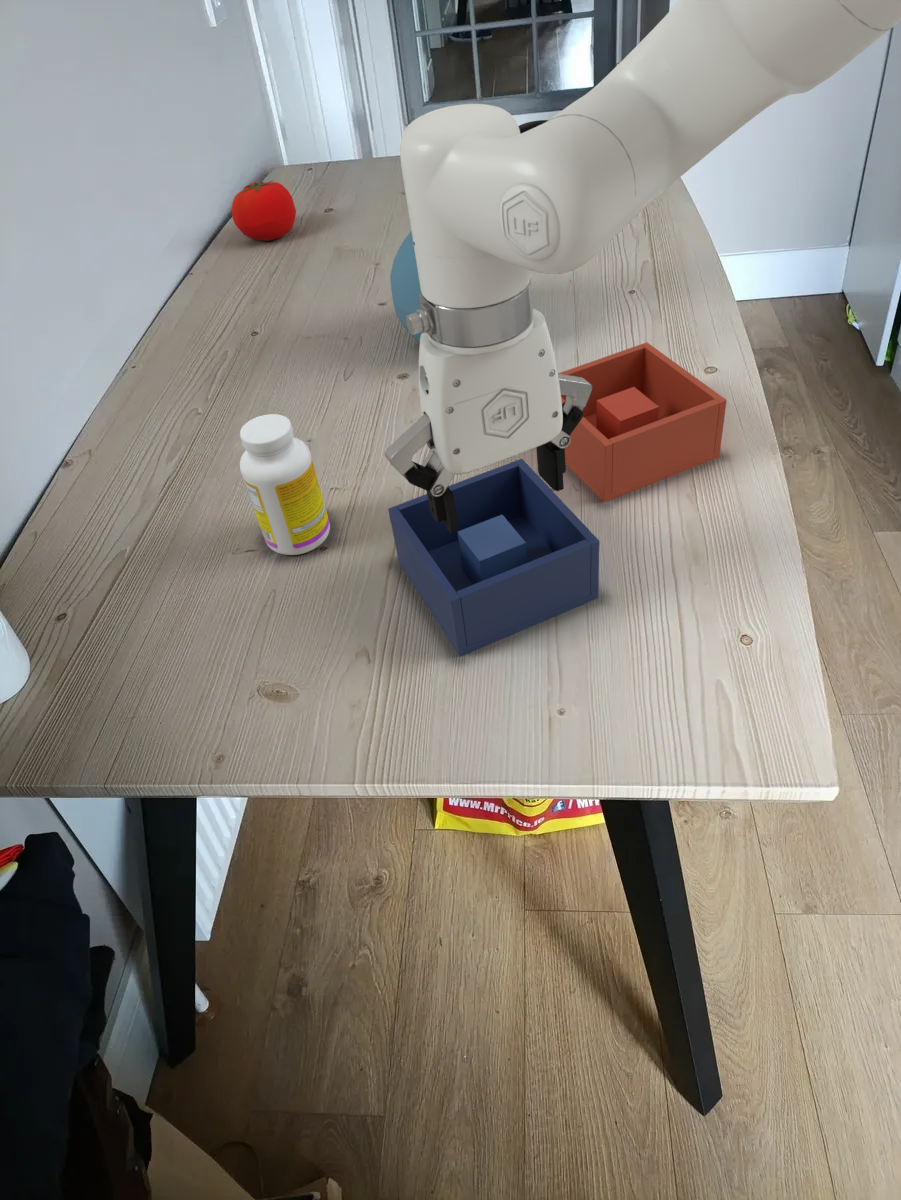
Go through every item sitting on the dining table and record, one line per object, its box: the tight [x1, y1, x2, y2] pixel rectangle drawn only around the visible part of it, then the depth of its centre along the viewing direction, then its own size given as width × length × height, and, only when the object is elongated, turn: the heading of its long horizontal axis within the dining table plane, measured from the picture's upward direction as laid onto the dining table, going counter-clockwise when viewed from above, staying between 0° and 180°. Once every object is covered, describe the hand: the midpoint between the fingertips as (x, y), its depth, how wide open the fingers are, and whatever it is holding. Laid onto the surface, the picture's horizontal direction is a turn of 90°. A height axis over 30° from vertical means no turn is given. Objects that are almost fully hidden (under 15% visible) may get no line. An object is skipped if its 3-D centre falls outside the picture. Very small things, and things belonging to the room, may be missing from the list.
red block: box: [596, 387, 659, 440], centre depth 90 cm, size 4×4×4 cm
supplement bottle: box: [239, 413, 331, 556], centre depth 83 cm, size 7×7×13 cm
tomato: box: [231, 179, 297, 242], centre depth 140 cm, size 9×10×8 cm
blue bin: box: [387, 458, 600, 657], centre depth 78 cm, size 14×14×7 cm
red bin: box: [558, 341, 727, 503], centre depth 90 cm, size 14×14×7 cm
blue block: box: [457, 515, 527, 584], centre depth 78 cm, size 4×4×4 cm
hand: (499, 502), depth 73 cm, fingers open, 9 cm apart
